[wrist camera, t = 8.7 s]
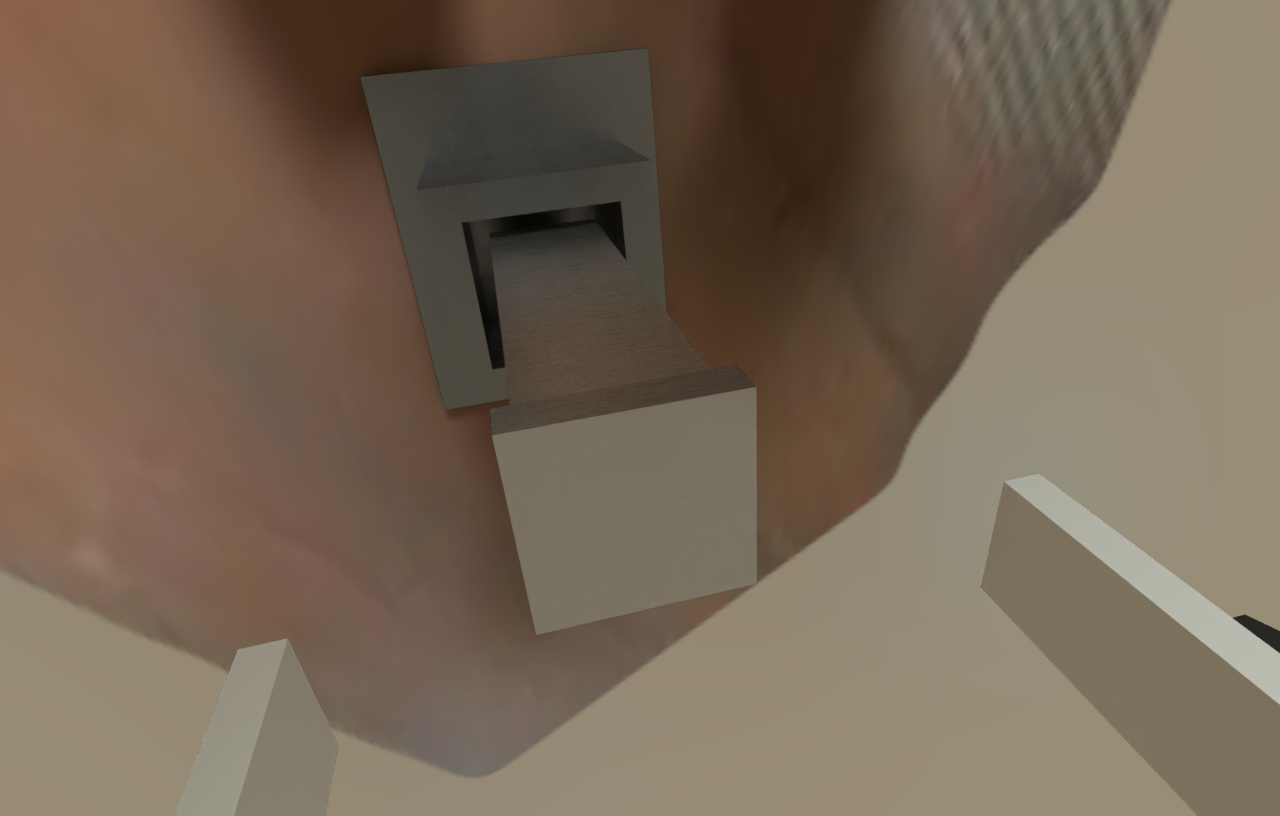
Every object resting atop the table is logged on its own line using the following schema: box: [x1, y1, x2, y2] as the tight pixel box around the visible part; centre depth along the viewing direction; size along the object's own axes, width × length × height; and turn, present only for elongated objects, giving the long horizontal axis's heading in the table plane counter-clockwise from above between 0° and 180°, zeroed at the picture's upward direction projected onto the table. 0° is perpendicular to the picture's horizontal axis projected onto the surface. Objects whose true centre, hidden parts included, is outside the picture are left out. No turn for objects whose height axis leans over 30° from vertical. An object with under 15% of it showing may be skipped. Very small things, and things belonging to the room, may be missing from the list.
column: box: [489, 219, 757, 635], centre depth 24 cm, size 6×6×19 cm
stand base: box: [360, 48, 667, 410], centre depth 34 cm, size 18×14×10 cm
